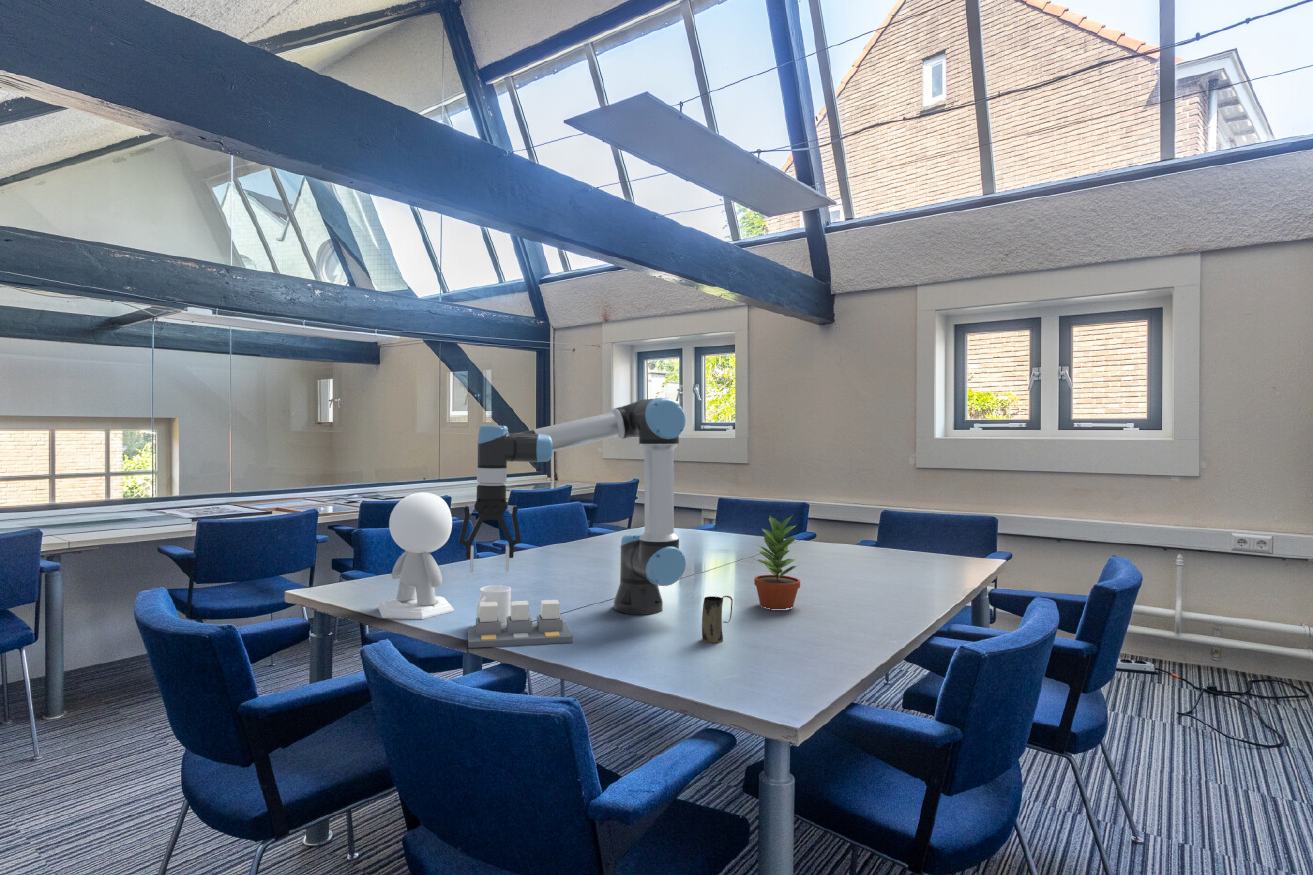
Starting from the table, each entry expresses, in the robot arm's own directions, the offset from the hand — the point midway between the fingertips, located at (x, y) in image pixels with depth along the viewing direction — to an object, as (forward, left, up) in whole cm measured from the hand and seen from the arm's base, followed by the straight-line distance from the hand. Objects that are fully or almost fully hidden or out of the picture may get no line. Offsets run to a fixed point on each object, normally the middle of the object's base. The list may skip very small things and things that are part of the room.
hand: (489, 570), depth 181 cm
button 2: (-8, 0, -13) cm, 15 cm away
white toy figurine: (+20, -32, -18) cm, 41 cm away
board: (-8, +1, -17) cm, 19 cm away
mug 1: (-1, -9, -18) cm, 20 cm away
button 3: (0, 0, -13) cm, 13 cm away
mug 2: (-58, +14, -18) cm, 62 cm away
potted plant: (-90, -17, -18) cm, 93 cm away
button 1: (-16, 0, -13) cm, 20 cm away
